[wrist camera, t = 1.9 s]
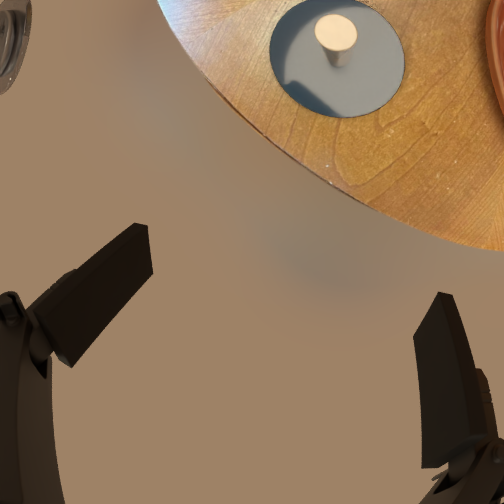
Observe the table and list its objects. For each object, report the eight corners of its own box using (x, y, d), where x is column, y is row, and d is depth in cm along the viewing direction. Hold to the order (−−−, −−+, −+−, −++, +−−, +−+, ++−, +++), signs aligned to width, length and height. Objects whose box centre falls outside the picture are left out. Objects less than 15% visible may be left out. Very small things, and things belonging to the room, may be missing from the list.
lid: (247, 66, 24) (200, 54, 15) (320, -21, 17) (307, -70, 9) (349, 143, 25) (353, 167, 17) (426, 57, 18) (468, 41, 10)
